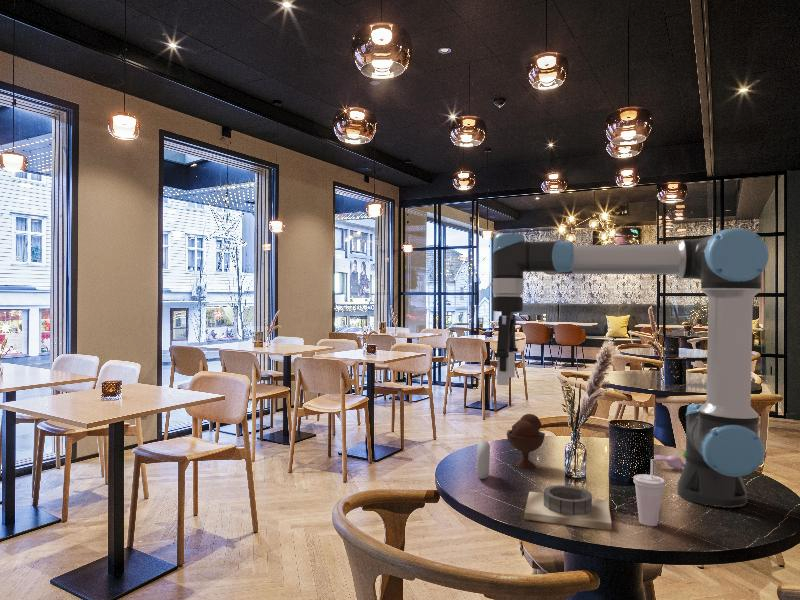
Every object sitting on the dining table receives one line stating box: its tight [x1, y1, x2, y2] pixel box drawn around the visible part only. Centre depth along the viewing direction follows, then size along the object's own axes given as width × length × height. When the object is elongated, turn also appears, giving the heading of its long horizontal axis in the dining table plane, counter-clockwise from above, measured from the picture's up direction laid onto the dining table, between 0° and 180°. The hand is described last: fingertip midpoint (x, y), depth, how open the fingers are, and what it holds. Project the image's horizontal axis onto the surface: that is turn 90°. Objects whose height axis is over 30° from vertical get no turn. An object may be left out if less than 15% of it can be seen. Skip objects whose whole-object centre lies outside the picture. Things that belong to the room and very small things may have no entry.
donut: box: [475, 440, 491, 480], centre depth 152 cm, size 10×4×10 cm, turn 171°
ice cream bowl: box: [506, 413, 546, 470], centre depth 164 cm, size 11×11×15 cm
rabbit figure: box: [653, 450, 686, 471], centre depth 162 cm, size 6×6×15 cm
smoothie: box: [632, 458, 666, 527], centre depth 124 cm, size 6×6×14 cm
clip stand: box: [524, 484, 612, 531], centre depth 129 cm, size 18×14×4 cm
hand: (506, 380), depth 141 cm, fingers open, 13 cm apart
